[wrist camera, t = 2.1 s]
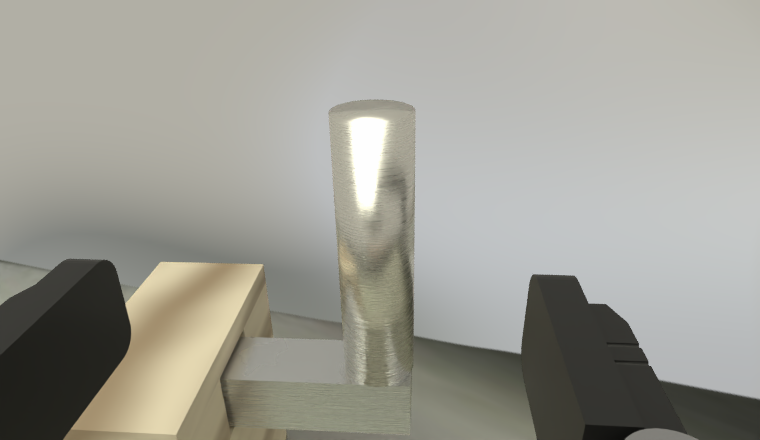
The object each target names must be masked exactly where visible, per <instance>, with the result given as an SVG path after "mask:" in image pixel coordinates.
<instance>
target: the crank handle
mask: <svg viewBox="0 0 760 440" xmlns="http://www.w3.org/2000/svg"><path fill="white" fill-rule="evenodd" d="M329 125H330V140H331V155H332V156H331V157H332V172H333V187H334V202H335V219H336V234H337V250H338V265H339V281H340V295H341V311H342V327H343V340H322V339H293V338H264V337H239V339H238V341H237V343H236V346H235V348H234V350H233V352H232V354H231V356H230V358H229V360H228V362H227V364H226V366H225V369H224V371H223V373H222V375H221V377H220V383H221V388H222V393H223V398H224V403H225V408H226V413H227V418H228V423H229V427H248V428H269V429H290V430H310V431H331V432H352V433H372V434H393V435H410V420H411V393H412V368H413V337H414V333H413V332H414V331H413V330H414V329H413V327H414V218H415V217H414V215H415V212H414V210H415V208H414V207H415V203H414V202H415V108H414V107H413V106H411V105H409V104H406V103H402V102H398V101H391V100H360V101H352V102H347V103H343V104H340V105H337V106H335V107H333V108H331V109H330V110H329Z"/></svg>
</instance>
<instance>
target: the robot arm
mask: <svg viewBox="0 0 760 440" xmlns="http://www.w3.org/2000/svg"><path fill="white" fill-rule="evenodd" d="M130 341H131V325H130V320H129V317H128V313H127V309H126V305H125V301H124V297H123V294H122V290H121V286H120V282H119V278H118V275H117V271H116V268H115V267H114V265H113V264H112V263H111V262H110V261H108V260H90V259H67V260H65V261H63V262H61V263H60V264H59V265H58V266H57V267H55V268H54V269H53V270H52V271H51V272H50V273H48V274H47V275H46V276H45V277H44V278H43V279H41V280H40V281H39V282H38V283H37V284H36V285H34V286H32V287H30V288H28V289H26V290H24V291H22V292H20V293H18V294H16V295H14V296H13V297H11V298H9V299H8V300H7V301H5V302H4V303H3V304H2V305H1V306H0V440H63V439H64V438H65V436H66V435H67V434H68V432H69V431H70V430H71V428H72V427H73V426H74V424H75V423H76V422H77V420H78V419H79V417H80V416H81V415H82V413H83V412H84V411H85V409H86V408H87V407H88V405H89V404H90V403H91V401H92V400H93V399H94V397H95V396H96V395H97V393H98V392H99V391H100V389H101V388H102V387H103V385H104V384H105V383H106V381H107V380H108V379H109V377H110V376H111V375H112V373H113V372H114V371H115V369H116V368H117V367H118V365H119V364H120V363H121V361H122V360H123V359H124V357H125V355H126V353H127V351H128V349H129V345H130ZM521 349H522V351H521V361H522V372H523V378H524V383H525V387H526V392H527V396H528V401H529V405H530V410H531V414H532V419H533V423H534V427H535V432H536V436H537V440H698V439H696V438H694V437H691V436H689V435H688V434H687V432H686V431H685V429H684V427H683V425H682V423H681V421H680V419H679V417H678V416H677V414H676V412H675V410H674V408H673V406H672V404H671V403H670V401H669V399H668V397H667V395H666V393H665V391H664V390H663V388H662V386H661V384H660V382H659V380H658V378H657V377H656V375H655V373H654V371H653V369H652V367H651V366H649V365H648V360H647V358H646V356H645V354H644V352H643V350H642V349H641V348H639V343H638V341H637V339H636V338H635V336H634V334H633V332H632V330H631V328H630V326H629V324H628V323H627V322H626V321H625V320H624V319H623V318H621V317H620V316H619V315H618V314H617V313H615V312H614V311H613V310H612V309H611V308H610V307H609V306H607V305H606V304H588V301H587V299H586V297H585V295H584V293H583V290H582V288H581V286H580V284H579V282H578V280H577V278H576V277H575V276H565V275H532V277H531V280H530V284H529V291H528V299H527V307H526V314H525V322H524V330H523V337H522V348H521Z"/></svg>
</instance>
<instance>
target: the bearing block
mask: <svg viewBox="0 0 760 440" xmlns="http://www.w3.org/2000/svg"><path fill="white" fill-rule="evenodd" d="M125 305H126V309H127V313H128V317H129V320H130V325H131V341H130V345H129V349H128V351H127V353H126V355H125V357H124V359H123V360H122V361H121V363H120V364H119V365H118V367H117V368H116V369H115V371H114V372H113V373H112V375H111V376H110V377H109V379H108V380H107V381H106V383H105V384H104V385H103V387H102V388H101V389H100V391H99V392H98V393H97V395H96V396H95V397H94V399H93V400H92V401H91V403H90V404H89V405H88V407H87V408H86V409H85V411H84V412H83V413H82V415H81V416H80V417H79V419H78V420H77V422H76V423H75V424H74V426H73V427H72V428H71V430H70V431H69V432H68V434H67V435H66V436H65V438H64V439H63V440H286V436H287V433H286V429H269V428H248V427H229V423H228V418H227V413H226V408H225V403H224V398H223V393H222V388H221V383H220V377H221V375H222V373H223V371H224V369H225V366H226V364H227V362H228V360H229V358H230V356H231V354H232V352H233V350H234V348H235V346H236V343H237V341H238V339H239V337H264V338H273V331H272V324H271V317H270V309H269V302H268V295H267V288H266V281H265V273H264V266H263V264H224V263H183V262H182V263H181V262H160V263H159V265H158V266H157V267H156V268H155V269H154V271H153V272H152V273H151V274H150V275H149V277H148V278H147V279H146V280H145V281H144V283H143V284H142V285H141V286H140V287H139V288H138V290H137V291H136V292H135V293H134V294H133V296H132V297H131V298H130V299H129V300H128V302H127V303H126V304H125Z"/></svg>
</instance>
